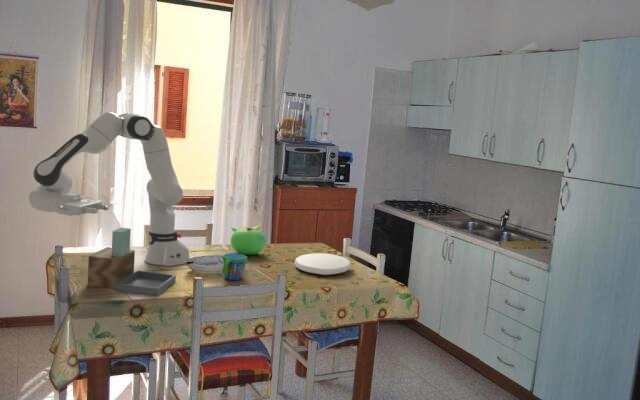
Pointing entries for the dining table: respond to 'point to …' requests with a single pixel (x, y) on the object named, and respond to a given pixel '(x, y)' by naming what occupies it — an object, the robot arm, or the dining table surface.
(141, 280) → the box
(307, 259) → the plate
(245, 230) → the green eared pot
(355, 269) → the dining table surface
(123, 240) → the teal rectangular block
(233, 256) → the snack cup
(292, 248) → the dining table surface
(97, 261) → the chevron patterned wooden cube
